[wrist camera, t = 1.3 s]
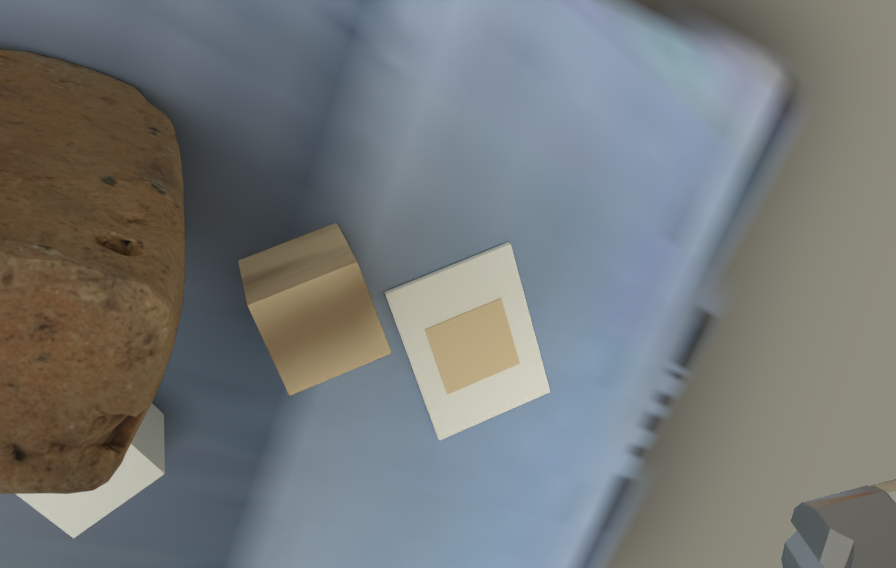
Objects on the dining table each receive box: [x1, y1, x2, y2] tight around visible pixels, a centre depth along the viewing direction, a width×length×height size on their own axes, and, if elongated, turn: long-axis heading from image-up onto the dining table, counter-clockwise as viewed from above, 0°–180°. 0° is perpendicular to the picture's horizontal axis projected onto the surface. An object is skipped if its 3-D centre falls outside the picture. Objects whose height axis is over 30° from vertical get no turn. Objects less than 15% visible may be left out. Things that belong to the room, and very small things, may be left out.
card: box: [384, 242, 550, 441], centre depth 45 cm, size 10×7×1 cm
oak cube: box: [238, 222, 392, 396], centre depth 39 cm, size 5×5×5 cm
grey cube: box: [16, 404, 165, 538], centre depth 39 cm, size 5×5×5 cm
